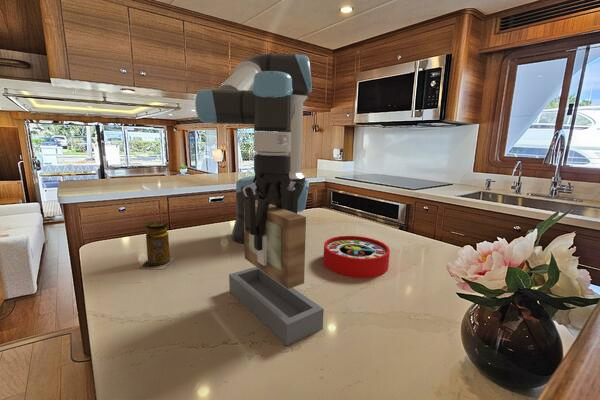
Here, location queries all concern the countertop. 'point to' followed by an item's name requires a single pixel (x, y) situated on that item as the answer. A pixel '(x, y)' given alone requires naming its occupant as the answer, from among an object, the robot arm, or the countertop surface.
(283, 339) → the charcoal tray
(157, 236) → the condiment
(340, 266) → the toy clock
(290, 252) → the walnut frame
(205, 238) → the countertop surface
